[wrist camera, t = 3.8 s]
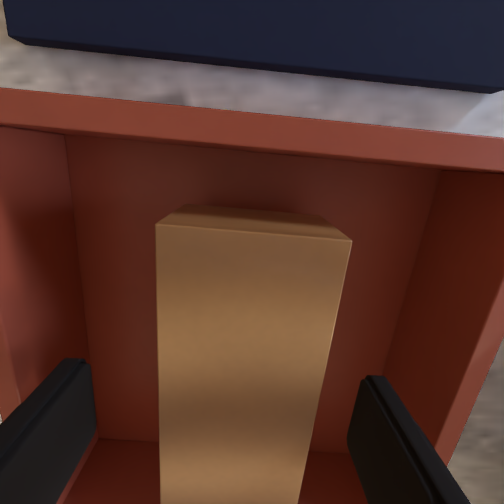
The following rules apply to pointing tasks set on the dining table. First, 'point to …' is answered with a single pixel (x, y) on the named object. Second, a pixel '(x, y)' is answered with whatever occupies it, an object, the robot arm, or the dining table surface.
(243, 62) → the mat
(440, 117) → the dining table surface
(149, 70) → the dining table surface
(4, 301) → the red open tray
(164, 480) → the tall wooden block
